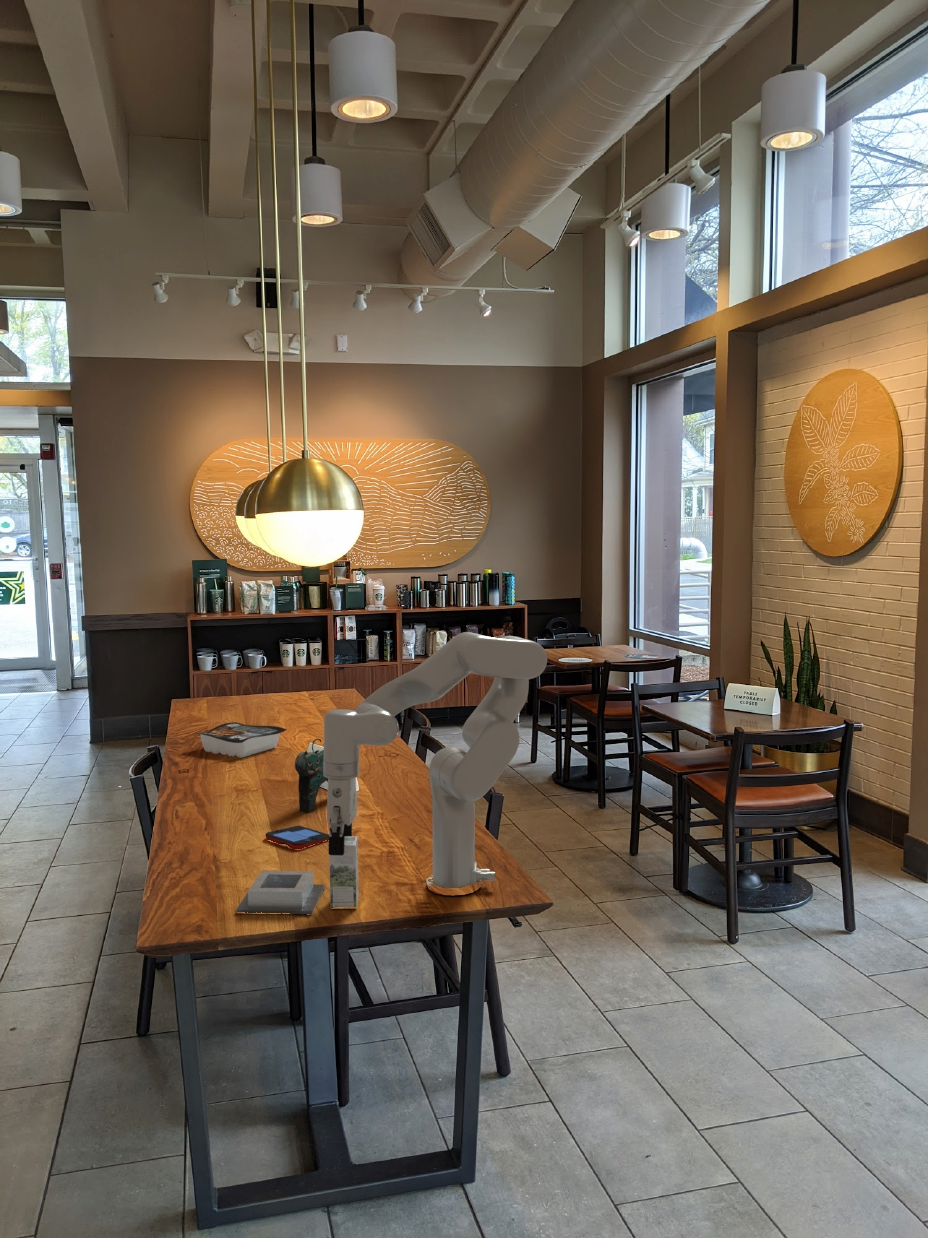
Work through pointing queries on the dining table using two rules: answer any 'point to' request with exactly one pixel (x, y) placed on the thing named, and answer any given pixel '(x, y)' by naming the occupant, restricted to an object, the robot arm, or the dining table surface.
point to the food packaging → (240, 739)
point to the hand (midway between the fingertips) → (340, 847)
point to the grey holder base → (282, 893)
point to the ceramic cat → (309, 777)
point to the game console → (297, 837)
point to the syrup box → (344, 875)
